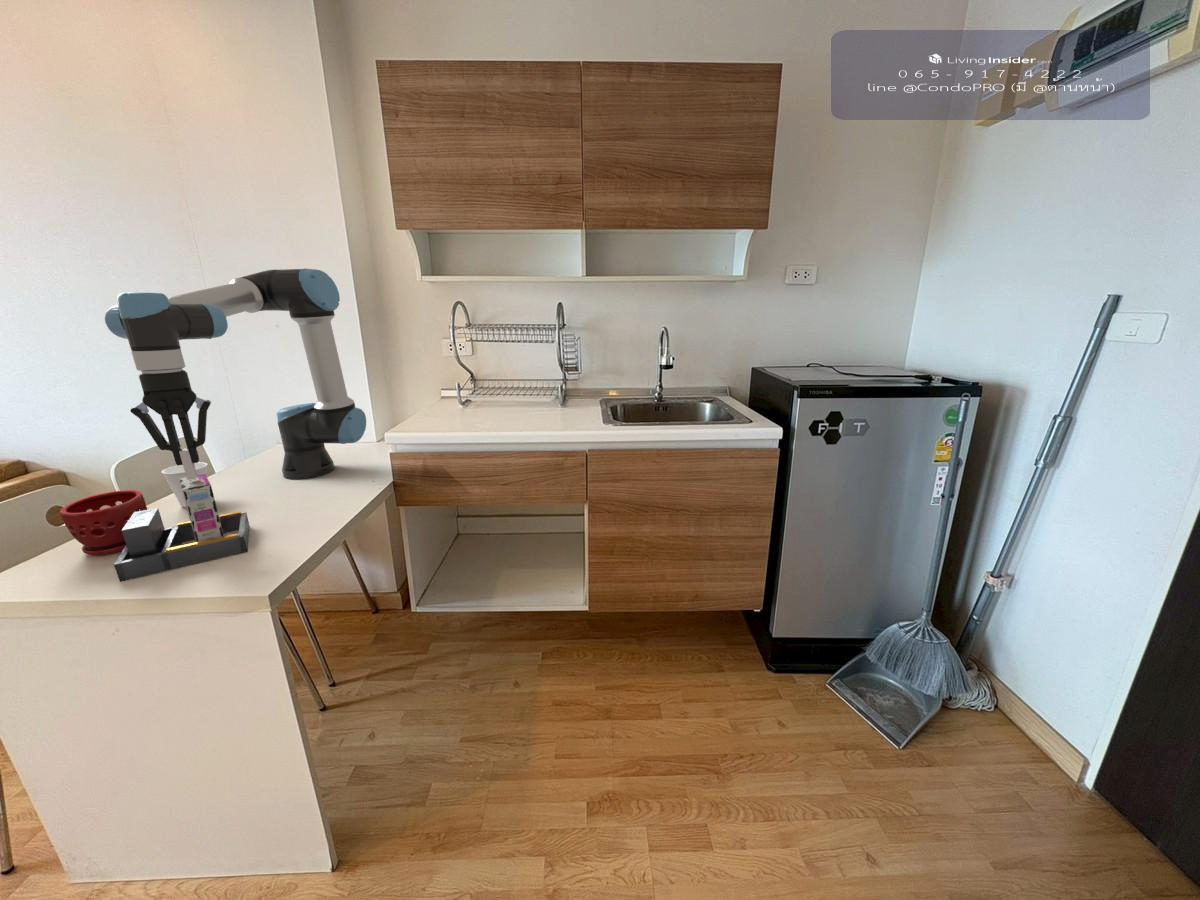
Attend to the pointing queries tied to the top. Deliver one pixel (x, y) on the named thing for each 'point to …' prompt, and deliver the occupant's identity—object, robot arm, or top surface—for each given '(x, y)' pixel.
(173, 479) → the cup
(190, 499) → the candy bar box
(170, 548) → the tray
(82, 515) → the plant pot
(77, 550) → the top surface
